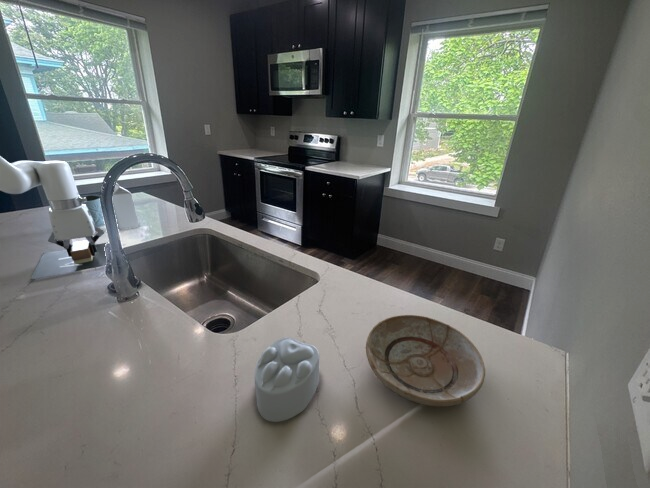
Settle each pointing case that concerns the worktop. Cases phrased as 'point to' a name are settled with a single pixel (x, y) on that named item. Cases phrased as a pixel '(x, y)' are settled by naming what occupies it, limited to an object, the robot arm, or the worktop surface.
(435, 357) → the ceramic bowl
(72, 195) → the robot arm
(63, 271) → the chalkboard
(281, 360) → the lumpy-topped squat cylinder
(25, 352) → the worktop surface
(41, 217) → the worktop surface
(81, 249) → the eraser
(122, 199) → the milk carton
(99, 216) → the blue-grey cup
